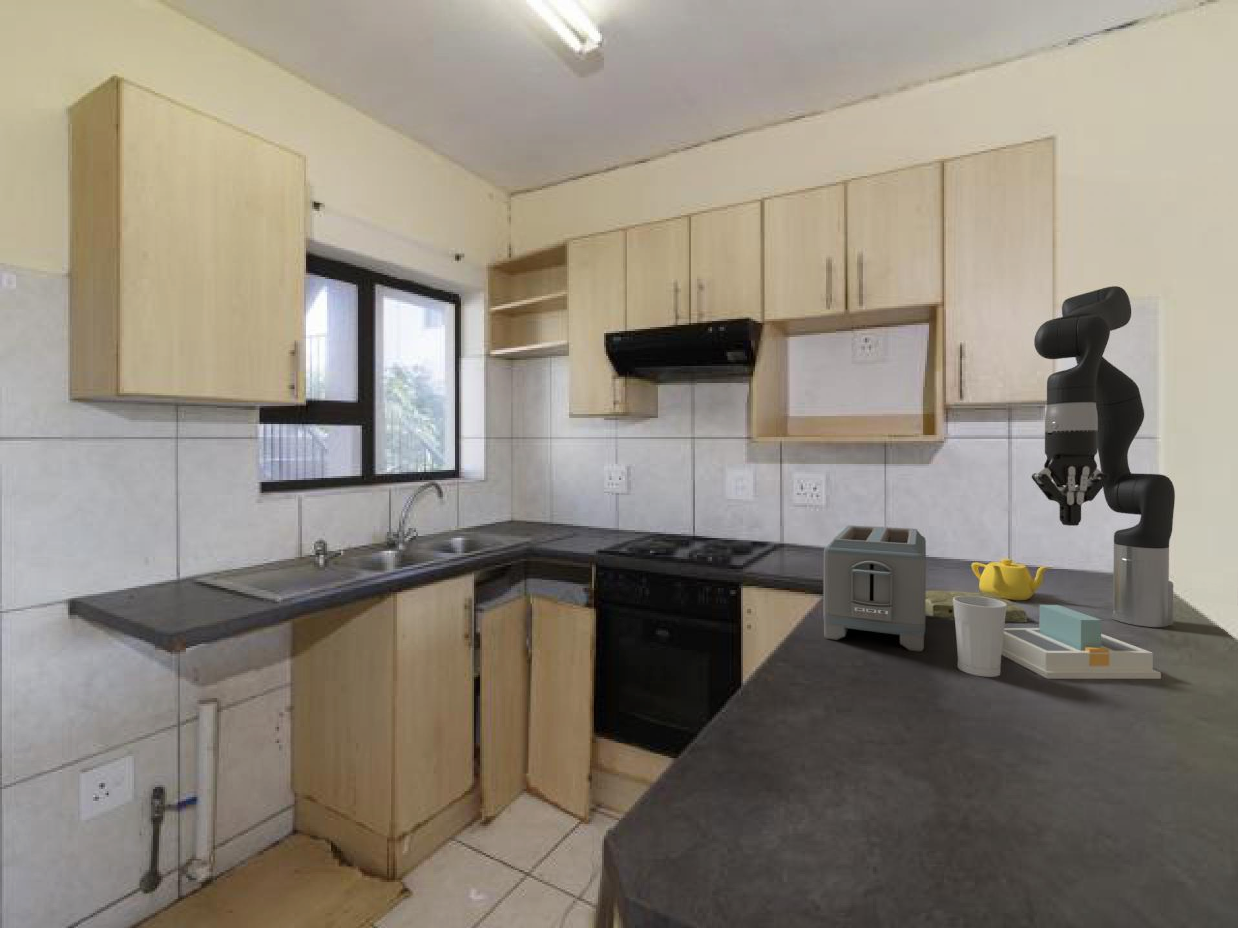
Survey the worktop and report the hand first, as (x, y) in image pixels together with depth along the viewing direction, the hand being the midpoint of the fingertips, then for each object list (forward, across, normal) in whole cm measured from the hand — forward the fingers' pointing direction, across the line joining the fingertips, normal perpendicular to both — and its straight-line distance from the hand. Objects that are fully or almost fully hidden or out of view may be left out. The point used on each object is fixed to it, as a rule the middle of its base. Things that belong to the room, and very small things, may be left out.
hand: (1070, 524), depth 105 cm
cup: (+25, +19, +4) cm, 32 cm away
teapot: (+25, -21, -48) cm, 58 cm away
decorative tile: (+26, -2, -35) cm, 43 cm away
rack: (+25, 0, 0) cm, 25 cm away
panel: (+24, 0, 0) cm, 24 cm away
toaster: (+25, +26, -20) cm, 41 cm away
